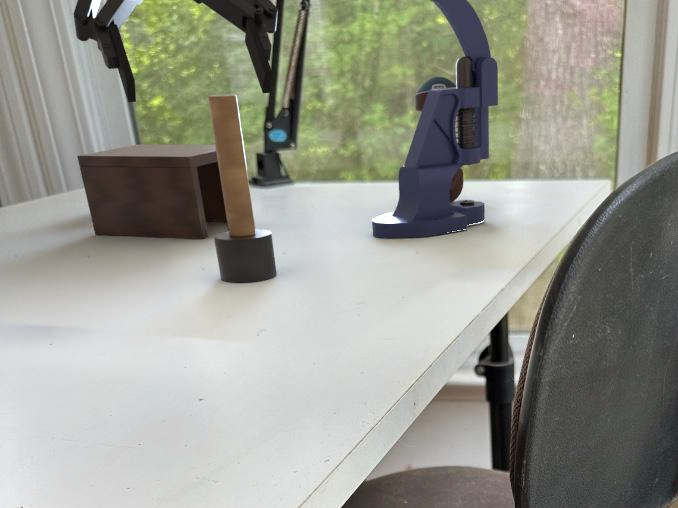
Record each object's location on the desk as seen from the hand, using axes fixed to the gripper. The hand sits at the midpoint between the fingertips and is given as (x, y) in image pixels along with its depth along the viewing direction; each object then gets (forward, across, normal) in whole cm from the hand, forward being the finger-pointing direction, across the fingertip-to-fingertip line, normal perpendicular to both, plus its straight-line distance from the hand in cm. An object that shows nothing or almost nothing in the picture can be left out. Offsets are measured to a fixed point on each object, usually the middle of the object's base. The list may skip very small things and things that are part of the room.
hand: (201, 87), depth 89 cm
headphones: (-2, +35, +25) cm, 43 cm away
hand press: (+10, +25, +14) cm, 30 cm away
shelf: (-5, -2, +28) cm, 28 cm away
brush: (+18, 0, +5) cm, 19 cm away
